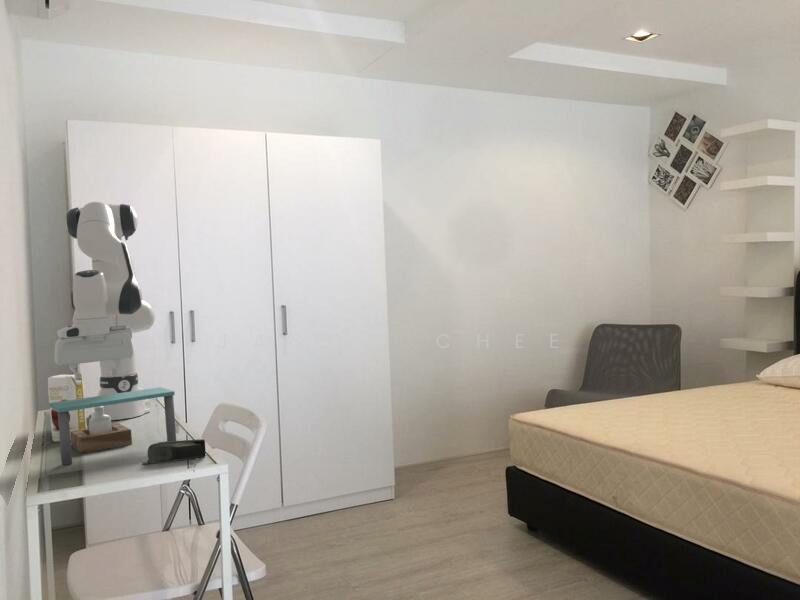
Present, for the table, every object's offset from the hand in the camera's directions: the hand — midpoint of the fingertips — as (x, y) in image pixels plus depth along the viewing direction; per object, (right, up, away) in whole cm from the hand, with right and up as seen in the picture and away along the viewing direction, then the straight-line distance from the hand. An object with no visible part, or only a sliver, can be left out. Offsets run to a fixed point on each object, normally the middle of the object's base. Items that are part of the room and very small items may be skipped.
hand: (96, 377), depth 193 cm
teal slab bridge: (+9, -19, -8) cm, 22 cm away
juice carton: (-12, -20, +10) cm, 25 cm away
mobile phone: (+29, -19, -22) cm, 41 cm away
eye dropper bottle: (+1, -19, +1) cm, 19 cm away
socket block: (+1, -19, +1) cm, 19 cm away
